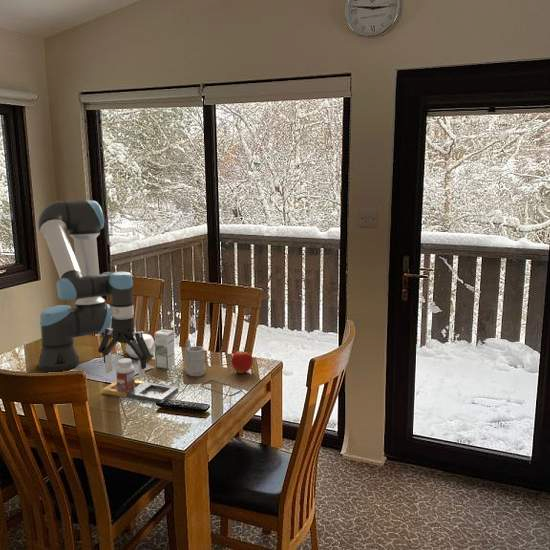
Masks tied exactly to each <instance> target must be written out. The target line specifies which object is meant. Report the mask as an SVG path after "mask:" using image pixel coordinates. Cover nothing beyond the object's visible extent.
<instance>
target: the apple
mask: <svg viewBox="0 0 550 550" xmlns="http://www.w3.org/2000/svg"><path fill="white" fill-rule="evenodd" d="M244 348H245V347H243V348H242V351H241V350H238V351H236V352H234V353H233V355H232V356H231V360H230V361H231V365H232V368H233V369H234V372H236V373H238V374H244V373H247V372H248V371H250V370H251V369H252V367H253V365H254V364H253V363H254V359H253V356H252V355H251V353H248V352H246V351H245V349H244Z"/></svg>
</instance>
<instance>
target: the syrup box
mask: <svg viewBox="0 0 550 550" xmlns="http://www.w3.org/2000/svg"><path fill="white" fill-rule="evenodd" d="M154 341H155V352H154V353H155V368H159V369H165V370H169V369H170V368H172V367H173V366H175V364H176V361H175V359H176V358H175V330H169V329H162V328H161V329H159V330H157V331H156V332H154Z"/></svg>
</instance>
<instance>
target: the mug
mask: <svg viewBox="0 0 550 550" xmlns="http://www.w3.org/2000/svg"><path fill="white" fill-rule="evenodd" d="M185 344H186V345H185V349H184V362H185V365H186V367H185V372H186V375H188V376H189V377H201V376H203V375H205V373H206V370H207V367H206V365H205V363H206V362H205V359H206V355H205V348H204V347H203V346H201V345H200V346H198V345H196V346H195V345H194V346H192V345H191V340H190V339H189V338H188V339H186V341H185Z"/></svg>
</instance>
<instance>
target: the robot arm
mask: <svg viewBox="0 0 550 550" xmlns="http://www.w3.org/2000/svg"><path fill="white" fill-rule="evenodd" d="M37 223H38V224H37V227H38V230H39V234H40V235H41V237H42V238H44V239H45V241H46V244H47V248H48V249H49V253H50V255H51V258H52V260H53V264H54V266H55V268H56V271H57V274H58V277H59V278H58V280H57V281H56V292H57V297H58V298H59V300H60V301H61V300H62V301H75V300H76V302H75V303H74V304H75V307H74V308H73V307H72V306H71V305H69V304H63V305H62V304H60V305H54V306H50V307H47V308H45V309H44V310H42V312H41V313H40V315H39V317H40V318H39V320H40V321H39V326H40V333H41V347H42V348H41V351H40V356H39V360H38V368H39V370H42V371H45V372H61V371H60V370H62V371H67V370H70V369H73V368H77V366H79V364H80V355H78V353H77V349H76V348H75V343H74V338H78V337H84V336H91V335H99V334H102V333H104V335H103V338H102V340H101V343H100V344H99V346H98V347H99V348H98V350H97V351H98V353H99V354H102V355H103V357H102V358H103V363H104V365H105V374H109V373H111V372H112V371H113V362H112V361H113V358H112V355H113V354H112V353H111V351H112V349H113V348H114V347H116V344H118V343H119V344H121V343H123V344H126V345H127V344H128V345H129V346H131V348H132V349H133V350H134V352H135V353H136V355H137V356H138V357H139V358H138V359H139V360H137V369H138V373H137V374H138V379H140V380H141V379H142V378H144V377H145V376H146V374H145V373H146V372H145V371H146V370H145V369H146V368H147V360H148V359H150V358H152V355H151V354H150V352H149V350H148V348H147V345H146V343H145V341H144V339H143V335H142V334H143V333H142V330H140V331H135V329H134V327H135V317H134V315H135V310H134V309H135V308H134V288H133V287H134V286H133V285H134V281H133V276H132V273H131V272H128V271H115V272H111V271H106V272H102V273H101V274H100V268H99V255H98V254H99V253H98V241H97V238H98V237H99V236H100V234H101V230H102V229H103V228H104V226H105V217H104V213H103V210H102V207H101V205H100V204H99V202H98V201H96V200H89V199H87V200H86V199H85V200H84V199H83V200H82V199H81V200H59V201H53V202H51V203H49V204H48V205H46V206H45V207H44V208H43V210H42V211H41V213H40V215H39V217H38V222H37ZM67 232H68V233H69V237H71V238H72V239H73V242H74V243H73V244H74V245H73V246H74V249H73V247H72V244H71V242H70V239H69V237H68V234H67ZM104 296H105V297H106V296H110V304H108V303H106V299H105V298H103V297H104ZM112 335H113V338H112V339H111V340H110V338H111V337H112ZM134 336H135V338H136V339H135V338H134ZM131 340H132V341H131ZM136 341H137V342H136ZM108 343H109V344H108ZM137 343H138V344H137ZM66 369H67V370H66Z"/></svg>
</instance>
